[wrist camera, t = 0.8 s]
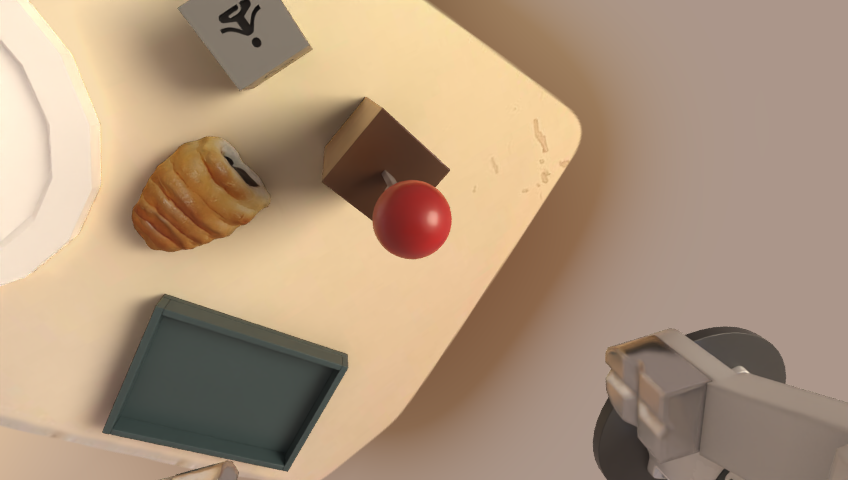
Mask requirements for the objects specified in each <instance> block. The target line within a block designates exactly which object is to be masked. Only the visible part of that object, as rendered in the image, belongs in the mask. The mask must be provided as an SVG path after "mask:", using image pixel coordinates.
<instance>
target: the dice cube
mask: <svg viewBox="0 0 848 480" xmlns="http://www.w3.org/2000/svg"><path fill="white" fill-rule="evenodd" d="M178 10H179V11H180V12H181V14H182V15H183V16H184V18H185V19H186V20H187V21H188V23H189V24H190V25H191V27H192V28H193V29H194V31H195V32H196V33H197V35H198V36H199V37H200V39H201V40H202V41H203V43H204V44H205V45H206V47H207V48H208V49H209V51H210V52H211V53H212V55H213V56H214V57H215V59H216V60H217V61H218V63H219V64H220V65H221V67H222V68H223V69H224V71H225V72H226V73H227V75H228V76H229V77H230V79H231V80H232V81H233V83H234V84H235V85H236V87H237V88H238V89H239V91H242V90H247V89H252V88H255V87H256V86H258V85H259V84H261V83H262V82H264V81H265V80H267V79H268V78H270V77H271V76H273V75H274V74H276V73H277V72H279V71H281V70H282V69H284V68H285V67H287V66H288V65H290V64H291V63H293V62H294V61H296V60H297V59H299V58H300V57H302V56H303V55H305V54H306V53H308V52H309V51H311V50H312V47H311V46H310V44H309V43H308V41H307V40H306V38H305V36H304V35H303V33H302V32H301V30H300V29H299V27H298V26H297V24H296V22H295V21H294V19H293V18H292V16H291V15H290V13H289V12H288V10H287V8H286V7H285V5H284V4H283V2H282V1H281V0H189V1H187V2H186V3H184V4H183V5H181V6H180V7H178Z"/></svg>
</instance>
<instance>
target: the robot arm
mask: <svg viewBox="0 0 848 480" xmlns="http://www.w3.org/2000/svg"><path fill="white" fill-rule="evenodd" d="M605 360H606V363H607V364H608V365H609V366H610V368H611V370H610V372H609V374H608V375H607V377H606V390H607V393H608V396H609V399H610V402H611V404H612V405H613V407H614V409H615V410H616V412H617V413H618V414H619V416H620V417H621V418H622V419H623V421H625V422H627V423H630V424H632V425H634V426H636V427H637V434H638V438H639V440H640V441H641V442H642V443H643V444H644V446H645V447H646V448H647V450H648V453H649V461H648V467H647V470H648V472H649V473H650V474H651V475H652V476H653V477H654V478H657V479H667V480H848V403H847V402H844V401H840V400H837V399H834V398H830V397H827V396H824V395H820V394H817V393H814V392H810V391H807V390H804V389H800V388H797V387H794V386H790V385H787V384H783V383H780V382H777V381H773V380H770V379H767V378H763V377H760V376H757V375H753V374H750V373H749V372H748V371H747V370H746V369H745V368H744V367H742V366H737V367H734V368H732V369H730V368H729V367H728V366H726V365H725V364H723V363H722V362H721V361H719V360H718V359H717V358H715V357H714V356H712V355H711V354H710V353H708V352H707V351H706V350H704V349H703V348H702V347H700V346H699V345H697V344H696V343H695V342H693V341H692V340H691V339H689V338H688V337H686V336H685V335H684V334H682V333H681V332H680V331H678V330H676V329H672V328H669V329H666V330H663V331H659V332H656V333H653V334H650V335H649V336H644V337H640V338H638V339H634V340H631V341H628V342H624V343H621V344H618V345H615V346H611V347H608V349H607V351H606V357H605ZM238 474H239V472H238V470H237V469H236V467H235V465H234V464H233V462H232V461H225V462H221V463H217V464H214V465H210V466H206V467H202V468H199V469H195V470H191V471H188V472H185V473H180V474H177V475H175V476H172V477H168V478H164V479H160V480H237V478H238Z"/></svg>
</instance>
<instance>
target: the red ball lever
mask: <svg viewBox="0 0 848 480" xmlns="http://www.w3.org/2000/svg"><path fill="white" fill-rule="evenodd" d="M449 171H450V169H449V168H448V167H447V166H446V165H445V164H443V163H442V162H441V161H440V160H439V159H438V158H437V157H436V156H435V155H434V154H433V153H431V152H430V151H429V150H428V149H427V148H426V147H425V146H424V145H423V144H422V143H421V142H419V141H418V140H417V139H416V138H415V137H414V136H413V135H412V134H411V133H410V132H409V131H407V130H406V129H405V128H404V127H403V126H402V125H401V124H400V123H399V122H398V121H396V120H395V119H394V118H393V117H392V116H391V115H390V114H389V113H388V112H387V111H386V110H384V109H383V108H382V107H380V106H379V105H378V104H376V103H375V102H373V101H372V100H370V99H369V98H367V97H365V98H364V100H363V101H362V102H361V103H360V105H359V106H358V107H357V108H356V110H355V111H354V112H353V113H352V114H351V116H350V117H349V118H348V119H347V121H346V122H345V123H344V124H343V125H342V127H341V128H340V129H339V130H338V132H337V133H336V134H335V135H334V136H333V138H332V139H331V140H330V141H329V143H328V144H327V145H326V146H325V149H324V161H323V173H322V182H323V183H324V184H325V185H327V186H328V187H329V188H330V189H332V190H333V191H334V192H336V193H337V194H338V195H340V196H341V197H342V198H344V199H345V200H346V201H347V202H349V203H350V204H351V205H353V206H354V207H355V208H357V209H358V210H359V211H361V212H362V213H363V214H364V215H366V216H367V217H368V218H370V219H371V220H372V221H373V229H374V232H375V235H376V237H377V239H378V240H379V242H380V243H381V245H382V246H383V247H384V248H385V249H386V250H388V251H389V252H390V253H392V254H394V255H396V256H398V257H401V258H405V259H418V258H423V257H426V256H428V255H430V254H432V253H434V252H435V251H437V250H438V249H439V248H440V247H441V246H442V245H443V243H444V242H445V241H446V239H447V237H448V235H449V232H450V228H451V220H452V218H451V211H450V207H449V204H448V202H447V200H446V199H445V197H444V196H443V194H442V193H441V192H440V191H439V190H438V189H436V188H435V187H436V186H437V185H438V184H439V182H440V181H441V180H442V179H443V178H444V177H445V176H446V175H447V173H448V172H449Z"/></svg>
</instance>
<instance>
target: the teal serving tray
mask: <svg viewBox="0 0 848 480" xmlns="http://www.w3.org/2000/svg"><path fill="white" fill-rule="evenodd" d="M347 369H348V355H347V354H345V353H342V352H339V351H336V350H333V349H330V348H327V347H324V346H321V345H318V344H315V343H312V342H309V341H306V340H303V339H300V338H297V337H294V336H291V335H288V334H285V333H282V332H279V331H276V330H273V329H269V328H266V327H263V326H260V325H257V324H254V323H251V322H248V321H245V320H242V319H239V318H236V317H233V316H230V315H227V314H224V313H221V312H218V311H215V310H212V309H209V308H206V307H203V306H200V305H197V304H194V303H191V302H188V301H185V300H182V299H179V298H176V297H173V296H170V295H167V294H165V295H164V296H163V297H162V299H161V300H160V301H159V303H158V304H157V305H156V307H155V309H154V311H153V314H152V316H151V318H150V321H149V323H148V325H147V328H146V330H145V332H144V335H143V337H142V340H141V342H140V344H139V347H138V349H137V351H136V354H135V356H134V358H133V361H132V363H131V365H130V368H129V370H128V372H127V375H126V377H125V380H124V382H123V384H122V387H121V389H120V391H119V394H118V396H117V398H116V401H115V403H114V405H113V408H112V410H111V412H110V415H109V417H108V420H107V422H106V424H105V427H104V429H103V431H102V433H106V434H111V435H116V436H120V437H125V438H130V439H135V440H139V441H144V442H149V443H154V444H158V445H163V446H168V447H173V448H177V449H182V450H187V451H192V452H197V453H201V454H206V455H211V456H216V457H220V458H225V459H230V460H235V461H239V462H244V463H249V464H254V465H259V466H263V467H268V468H273V469H278V470H283V471H287V472H288V470H289V469H290V467H291V465H292V463H293V462H294V460H295V458H296V457H297V455H298V453H299V451H300V450H301V448H302V446H303V445H304V443H305V441H306V439H307V438H308V436H309V434H310V433H311V431H312V429H313V427H314V426H315V424H316V422H317V421H318V419H319V417H320V415H321V414H322V412H323V410H324V409H325V407H326V405H327V403H328V402H329V400H330V398H331V396H332V395H333V393H334V391H335V390H336V388H337V386H338V384H339V383H340V381H341V379H342V378H343V376H344V374H345V372H346V371H347Z"/></svg>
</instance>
